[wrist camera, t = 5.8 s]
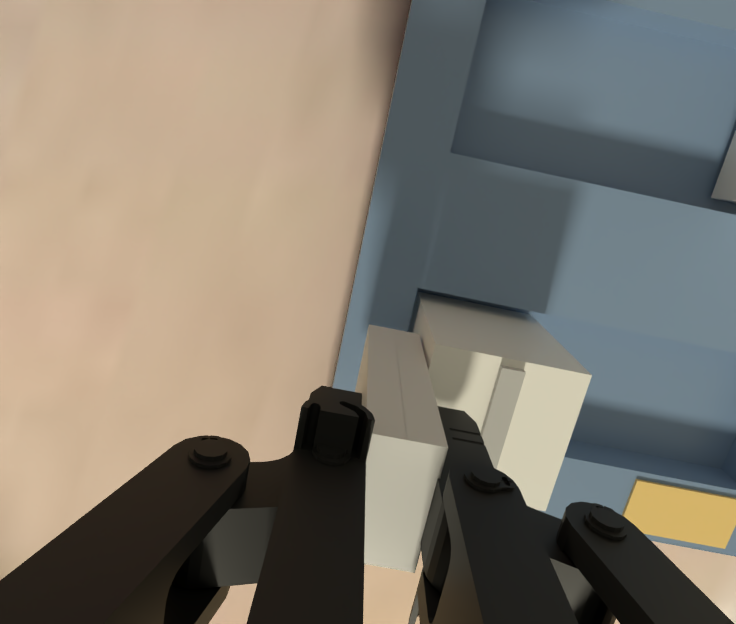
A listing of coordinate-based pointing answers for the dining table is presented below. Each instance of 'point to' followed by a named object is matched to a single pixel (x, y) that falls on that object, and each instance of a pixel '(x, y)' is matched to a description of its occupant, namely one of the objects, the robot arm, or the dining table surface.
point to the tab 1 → (504, 385)
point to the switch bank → (577, 228)
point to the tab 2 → (727, 176)
